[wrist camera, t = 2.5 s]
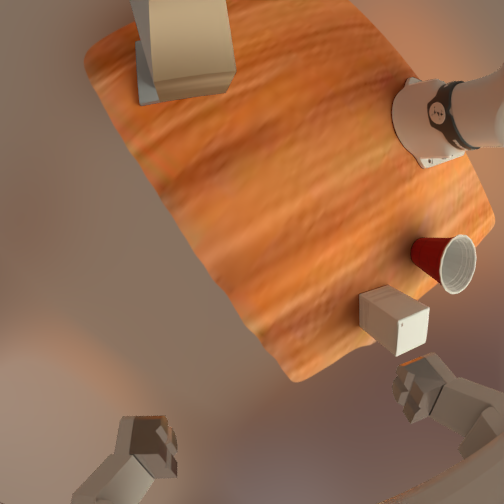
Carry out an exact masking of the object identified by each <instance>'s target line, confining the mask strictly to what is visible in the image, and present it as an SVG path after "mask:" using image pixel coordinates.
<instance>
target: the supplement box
mask: <svg viewBox="0 0 504 504" xmlns="http://www.w3.org/2000/svg"><path fill="white" fill-rule="evenodd" d="M429 309H430V308H429V307H427V306H426V305H424V304H422V303H420V302H419V301H417V300H415V299H413V298H411V297H410V296H408V295H406V294H404V293H402V292H400V291H398V290H397V289H395V288H393V287H391V286H389V285H386V286H383V287H380V288H377V289H374V290H371V291H368V292H365V293H361V294H359V324H360V327H361V328H362V329H363V330H365V331H366V332H367V333H368V334H369V335H371V336H372V337H373V338H374V339H375V340H377V341H378V342H379V343H380V344H381V345H383V346H384V347H385V348H386V349H388V350H389V351H390V352H391V353H392V354H393V355H395V356H399V355H400V354H403V353H405V352H407V351H409V350H411V349H413V348H415V347H417V346H419V345H421V344H424V343H425V342H426V335H427V328H428V318H429Z"/></svg>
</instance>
